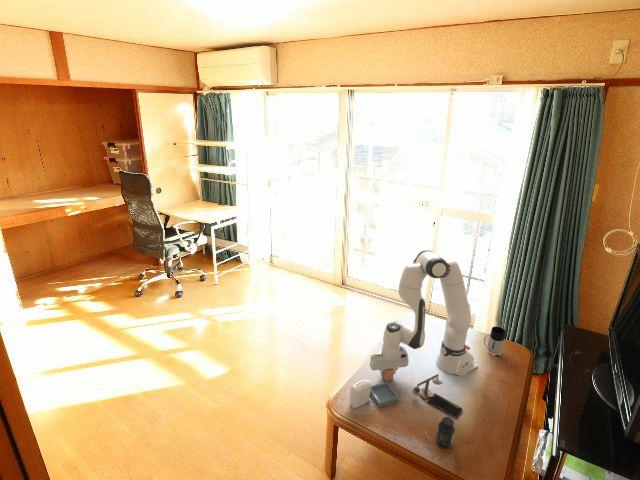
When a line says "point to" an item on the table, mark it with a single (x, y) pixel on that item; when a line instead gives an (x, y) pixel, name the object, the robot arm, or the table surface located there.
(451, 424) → the supplement bottle
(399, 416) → the table surface
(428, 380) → the tipped balance
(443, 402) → the phone
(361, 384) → the photo printer
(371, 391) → the dish
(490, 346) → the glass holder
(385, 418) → the table surface
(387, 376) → the terracotta block
